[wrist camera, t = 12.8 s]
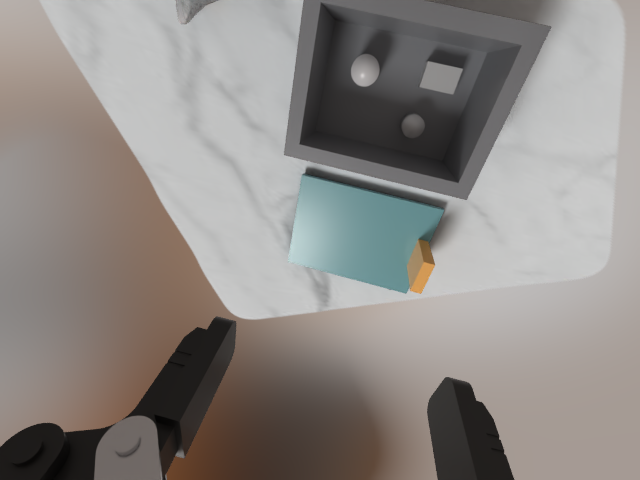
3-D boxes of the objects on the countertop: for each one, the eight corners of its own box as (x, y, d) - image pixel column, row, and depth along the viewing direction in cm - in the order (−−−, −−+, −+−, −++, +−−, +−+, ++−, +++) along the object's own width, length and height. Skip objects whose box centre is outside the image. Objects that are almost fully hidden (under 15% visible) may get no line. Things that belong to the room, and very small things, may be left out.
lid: (290, 256, 41) (276, 284, 35) (304, 171, 34) (290, 189, 29) (405, 287, 40) (409, 320, 34) (442, 205, 34) (454, 230, 28)
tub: (304, 138, 32) (283, 154, 25) (326, 2, 26) (306, -25, 19) (447, 172, 31) (466, 199, 24) (504, 40, 25) (551, 26, 18)
